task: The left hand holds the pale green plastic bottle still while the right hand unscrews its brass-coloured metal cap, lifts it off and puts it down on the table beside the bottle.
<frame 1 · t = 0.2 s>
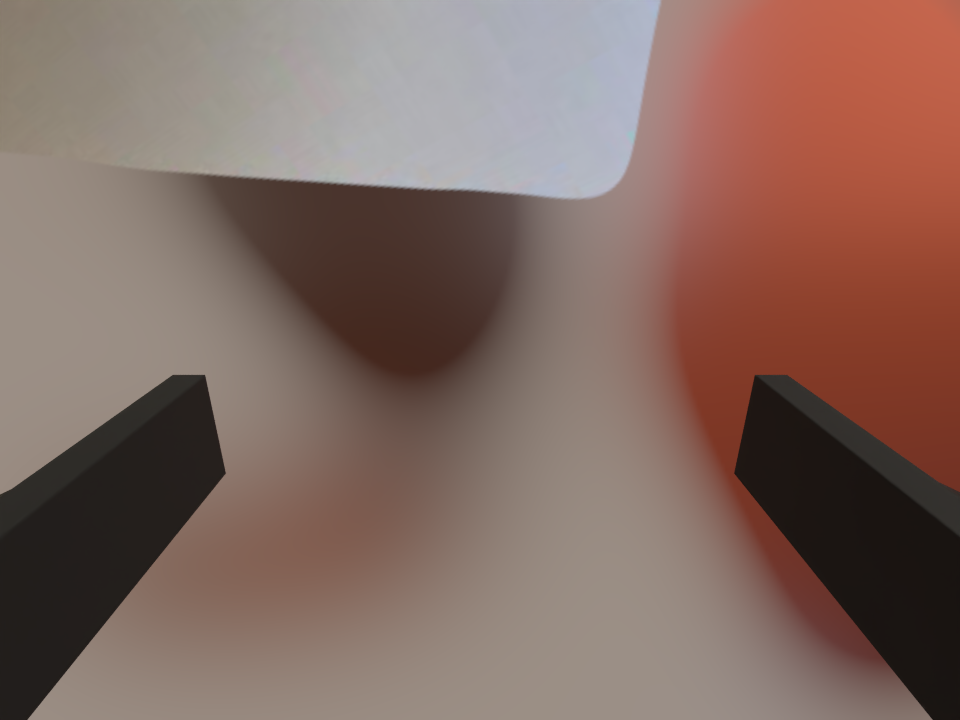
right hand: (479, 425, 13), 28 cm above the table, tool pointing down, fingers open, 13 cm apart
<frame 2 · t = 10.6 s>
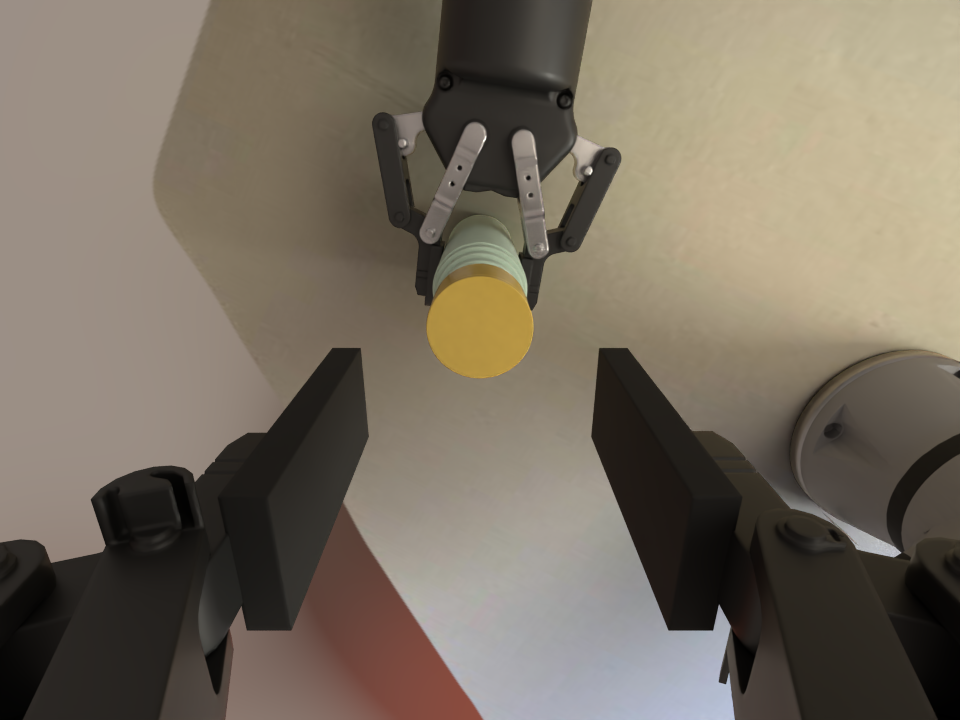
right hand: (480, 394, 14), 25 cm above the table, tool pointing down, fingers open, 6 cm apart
left hand: (474, 307, 32), fingers closed on bottle, 4 cm apart
bottle: (480, 248, 37), on the table, touching left hand
cap: (479, 326, 20), point 19 cm above the table, screwed on, not yet turned
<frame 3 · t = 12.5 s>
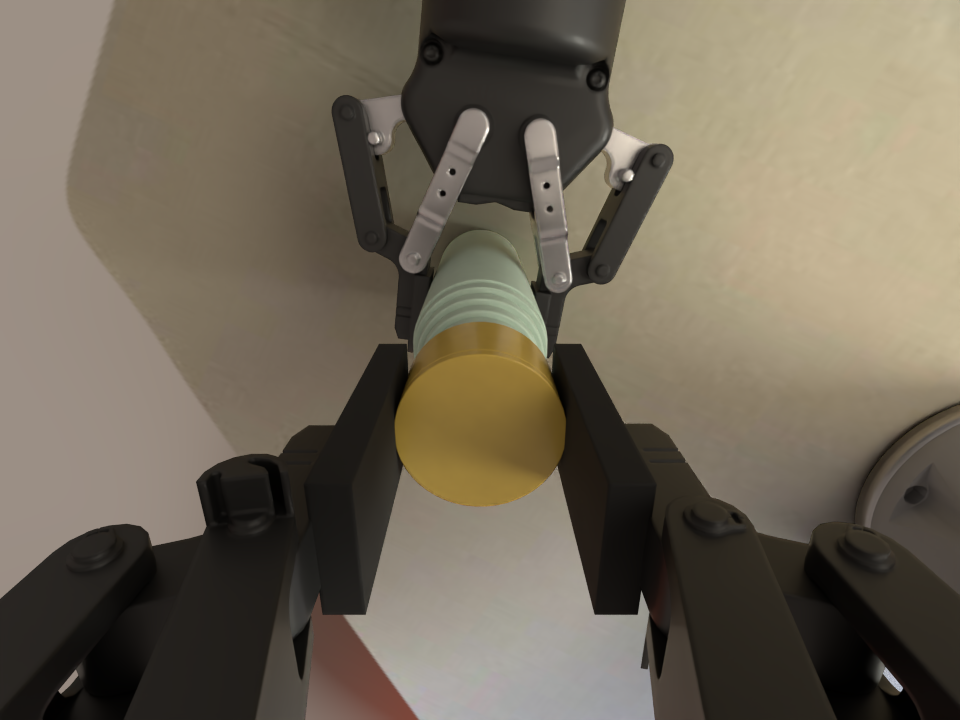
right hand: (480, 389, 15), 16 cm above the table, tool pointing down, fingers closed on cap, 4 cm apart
left hand: (473, 353, 25), fingers closed on bottle, 4 cm apart
bottle: (480, 271, 30), on the table, touching left hand
cap: (480, 429, 12), point 19 cm above the table, screwed on, not yet turned, touching right hand
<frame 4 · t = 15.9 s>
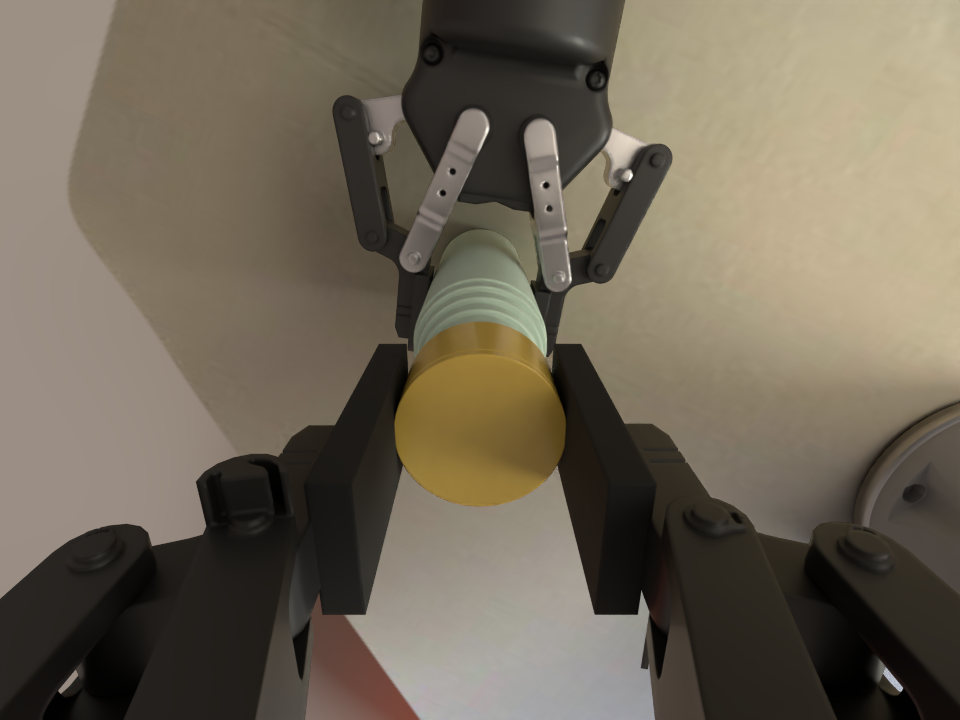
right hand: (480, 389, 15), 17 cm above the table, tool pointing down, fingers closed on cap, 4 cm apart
left hand: (473, 352, 25), fingers closed on bottle, 4 cm apart
bottle: (480, 270, 30), on the table, touching left hand
cap: (480, 429, 12), point 19 cm above the table, turned 122° so far, risen 0.1 cm, still on its thread, touching right hand
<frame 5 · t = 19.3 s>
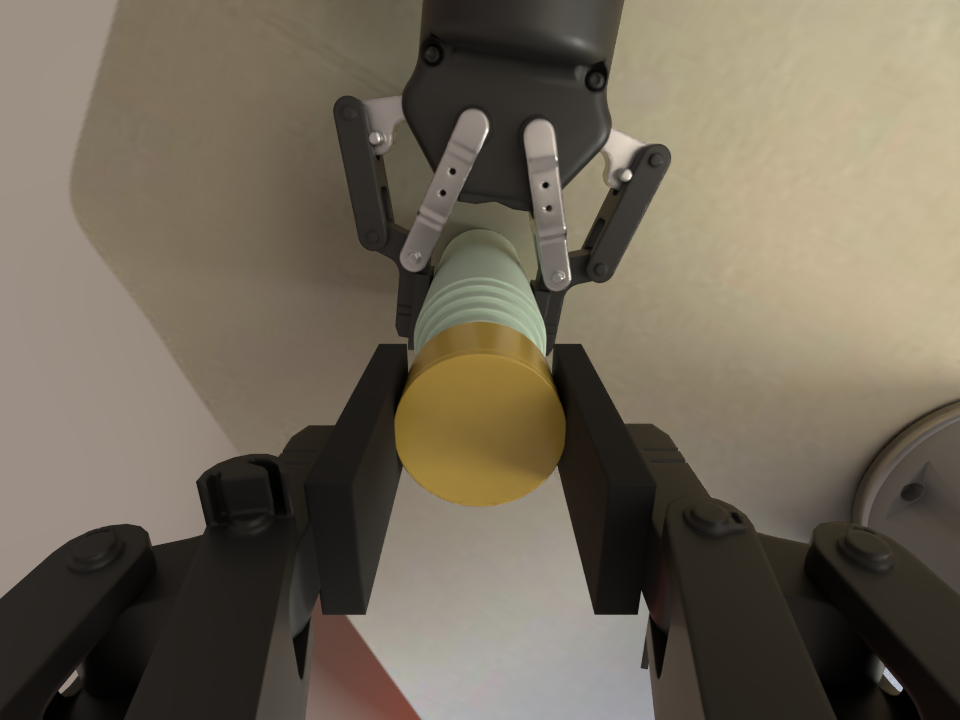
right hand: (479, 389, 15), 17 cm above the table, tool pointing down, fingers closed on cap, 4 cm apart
left hand: (473, 351, 25), fingers closed on bottle, 4 cm apart
bottle: (480, 270, 30), on the table, touching left hand
cap: (479, 429, 12), point 19 cm above the table, turned 244° so far, risen 0.3 cm, still on its thread, touching right hand
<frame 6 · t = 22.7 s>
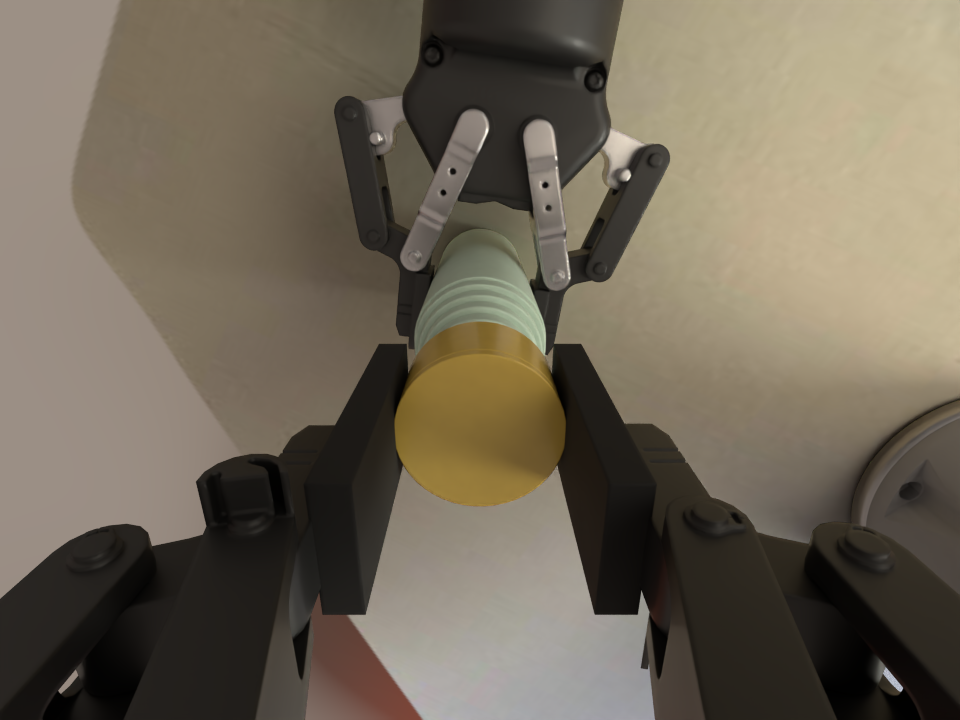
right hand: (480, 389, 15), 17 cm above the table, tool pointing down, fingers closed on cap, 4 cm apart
left hand: (473, 350, 25), fingers closed on bottle, 4 cm apart
bottle: (480, 269, 30), on the table, touching left hand
cap: (480, 428, 12), point 19 cm above the table, turned 366° so far, risen 0.4 cm, still on its thread, touching right hand
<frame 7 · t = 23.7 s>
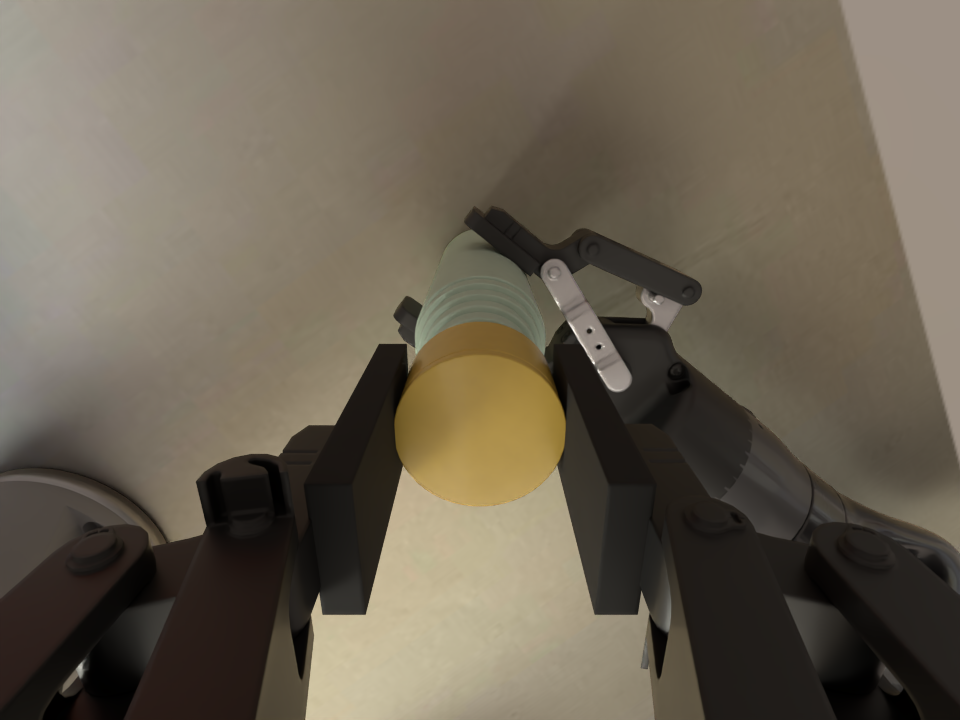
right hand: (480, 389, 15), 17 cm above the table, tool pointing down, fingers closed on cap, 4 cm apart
left hand: (434, 262, 24), fingers closed on bottle, 4 cm apart
bottle: (480, 269, 30), on the table, touching left hand
cap: (480, 428, 12), point 19 cm above the table, off its thread, touching right hand
when the right hand's fingers open (1 cm above the table, at t = 29.2 s): cap drops 1 cm, point 2 cm above the table.
when the left hand's fingers open (7 cm above the table, at t = 30.5 s): bottle stays where it is, on the table.
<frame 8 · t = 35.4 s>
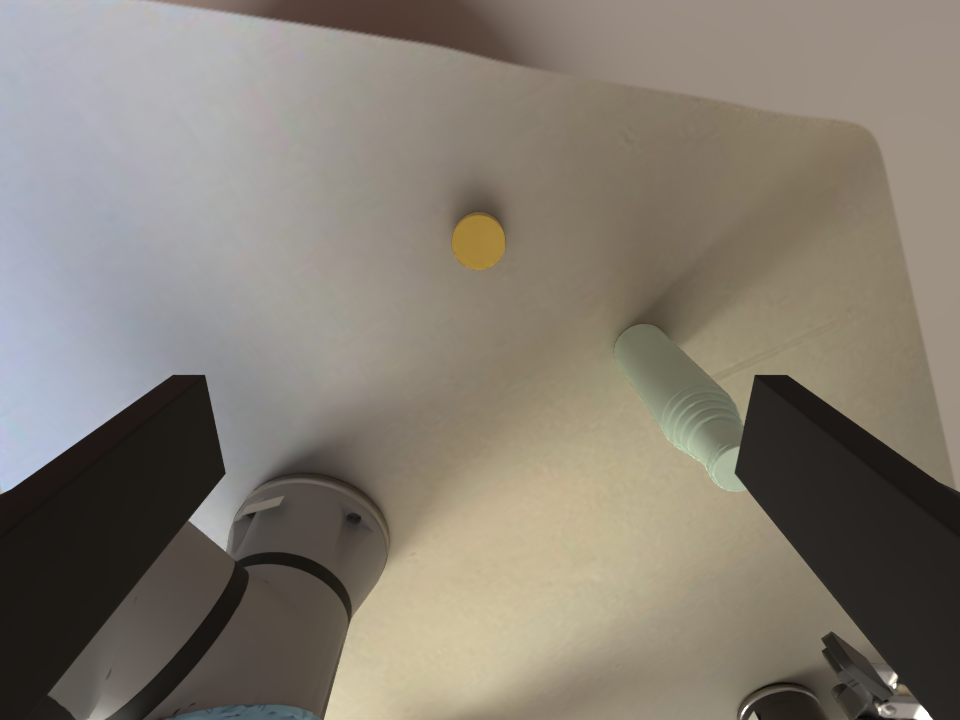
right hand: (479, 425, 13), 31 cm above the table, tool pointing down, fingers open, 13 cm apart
bottle: (640, 349, 45), on the table
cap: (478, 242, 39), point 2 cm above the table, off its thread
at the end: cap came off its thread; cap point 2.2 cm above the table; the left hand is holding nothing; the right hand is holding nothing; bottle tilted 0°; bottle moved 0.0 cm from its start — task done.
